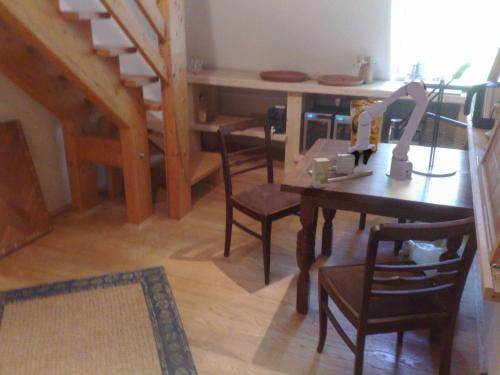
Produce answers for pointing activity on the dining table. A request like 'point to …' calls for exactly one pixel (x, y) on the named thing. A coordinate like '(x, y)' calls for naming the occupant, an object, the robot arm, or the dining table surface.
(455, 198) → the dining table surface
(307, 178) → the dining table surface
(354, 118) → the pancake mix bag
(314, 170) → the skincare box
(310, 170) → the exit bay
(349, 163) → the medicine box
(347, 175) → the pair of tan bars
